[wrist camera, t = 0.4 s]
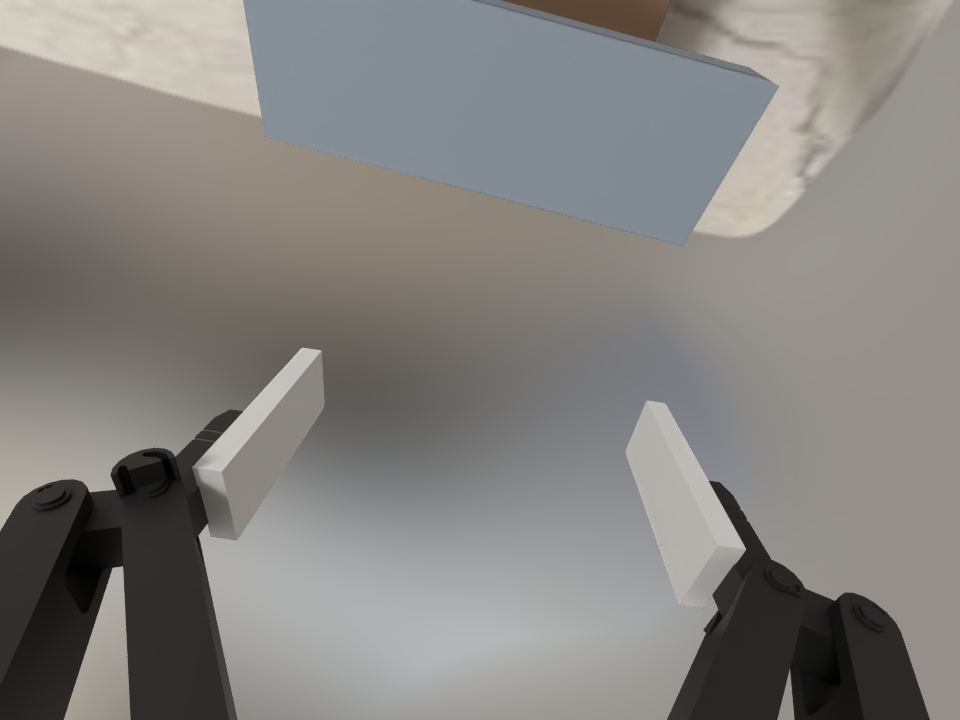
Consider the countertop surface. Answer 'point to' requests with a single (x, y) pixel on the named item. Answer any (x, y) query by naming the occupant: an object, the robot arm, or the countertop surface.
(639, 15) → the socket block
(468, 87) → the blue-grey hooked bracket
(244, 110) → the countertop surface
